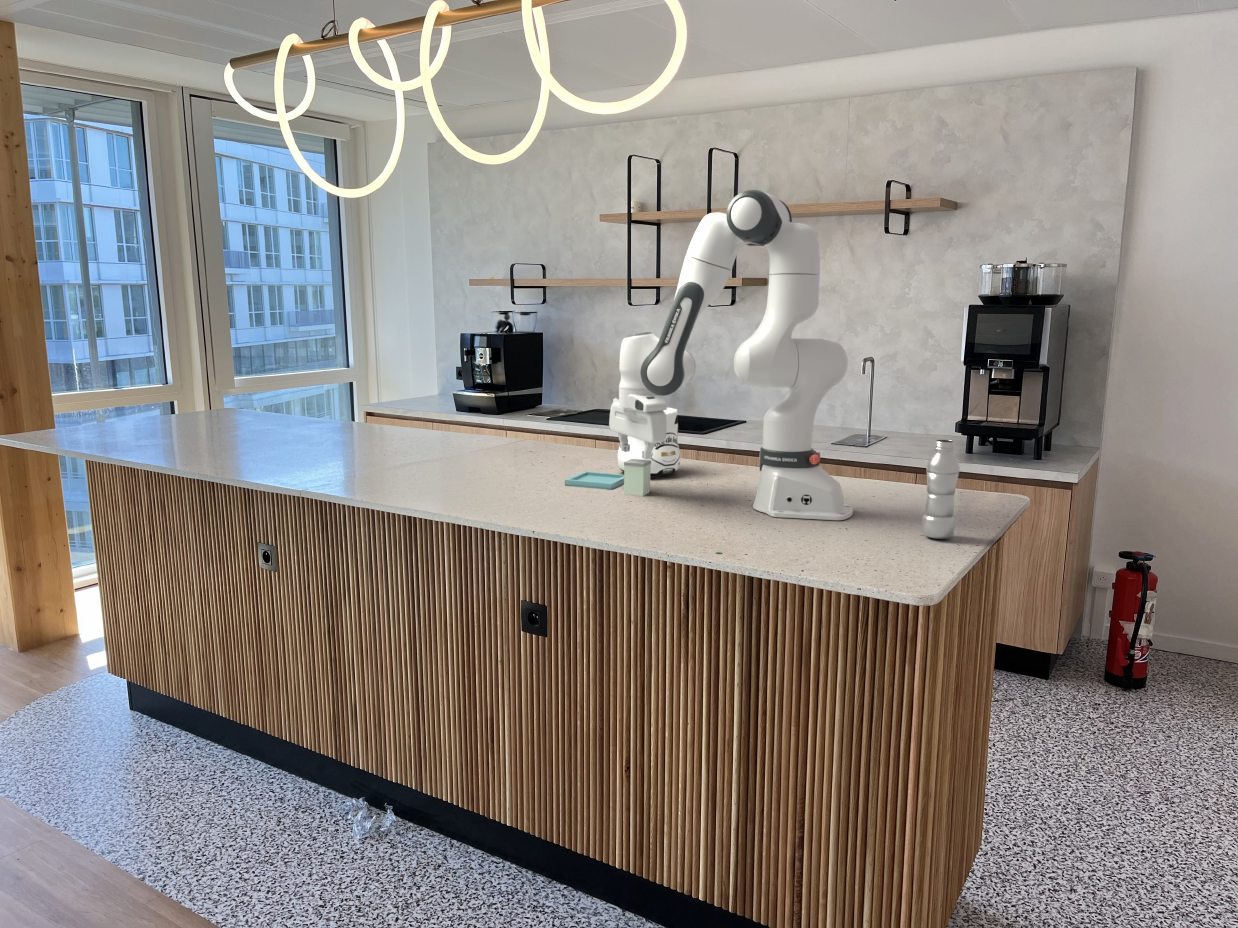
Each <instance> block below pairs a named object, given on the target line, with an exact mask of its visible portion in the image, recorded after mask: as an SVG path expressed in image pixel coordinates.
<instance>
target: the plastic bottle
mask: <svg viewBox="0 0 1238 928" xmlns="http://www.w3.org/2000/svg"><path fill="white" fill-rule="evenodd" d="M934 450H935V452H934V453H933V455H931V456H930V458H929V459H928V461H927V463H926V466H925V467H926V468H925V469H926V487H927V488H926V491H927V493H926V502H925V508H924V513H923V516H922V520H921V531H922V533H923V535H924V536H925V537H928V538H932V539H937V540H941V539H942V540H944V539H949V538H952V536H953V535H954V534H955V529H956V519H955V518H956V517H955V494H956V487H957V483H958V478H959V473H960V463H959V461H958V459H957V458H956V456H955V455H954V451H955V440H950V439H936V440H935V442H934Z"/></svg>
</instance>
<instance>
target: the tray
mask: <svg viewBox="0 0 1238 928" xmlns="http://www.w3.org/2000/svg"><path fill="white" fill-rule="evenodd" d="M621 485H624V474H620V473H609V472H607V473H606V472H599V471H598V472H597V471H583V472H581V473H578V474H575V475H573V476H571V477H569V478H565V479H564V486H568V487H569V486H571V487H580V488H581V487H582V488H583V487H584V488H591V489H592V488H593V489H601V490H602V489H603V490H613V489H615V488H617V487H620V486H621Z"/></svg>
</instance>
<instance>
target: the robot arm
mask: <svg viewBox="0 0 1238 928" xmlns="http://www.w3.org/2000/svg"><path fill="white" fill-rule="evenodd" d="M745 246H749V247H750V246H751V247H752V246H753V247H754V246H755V247H756V246H757V247H759V246H761V247H765V248H766V249H767V252H768V256H769V269H768V270H769V271H768V287H767V288H768V289H767V299H766V307H765V312H764V315H763V318H762V320H761V322H760V324H759V325H758V327H757V329H756V330H755V331H754V332H753V334H751V335H750V336H749V337H748V338H747V339H745V340H744V341H743V342H742V343H741V344H740V345H739V346H738V347H737V349H736V352H735V353H734V356H733V370H734V373H735V375H736V377H737V379H738V380H739V381H740V383H741V384H744V385H748V386H752V387H757V388H789V390H788V394H787V395H786V397H785V398H784V399H783V400H782V401H781V402H778V403H777V404H774V405H772V406H771V407H770V408H769V409H767V411H766V412H765V414H764V417H763V421H762V425H763V427H762V443H761V444H762V446H761V447H760V451H759V456H758V457H759V460H758V461H759V463H758V468H759V472H760V473H759V480H758V486H757V490H756V491H757V492H756V495H755V499H754V502H753V505H752V508H753V509H754V510H756V511H758V512H761V513H764V514H767V515H769V517H773V518H774V517H775V518H784V519H786V518H788V519H805V520H806V519H807V520H824V521H825V520H826V521H843V520H847V519H849V518H850V517H852V515H853V514H854V508H853V506H851V504H847V503H845V502H844V501H845V499H844V491H843V489H842V485H841V484H840V482H839V481H837V480H836V479H835V478H834V477H832V475H830V474H829V473H828V472H827V471H826V470H824V468H822V467H821V466H820V464H821V452H820V451H819V452H817V450H815V449H813V448H812V447H813V446H812V443H813V432H814V431H813V430H814V423H815V422H814V421H815V417H816V413H817V410H818V408H819V406H820V403H821V402H822V400H823V398H824V397H825V396H826V395H827V393H828V392H829V391H831V389H832V388H834V387H835V386H836V385H838V384H839V383H840V382H841V381H842V380H843V378H844V377H845V375H846V373H847V372H848V371H847V370H848V367H849V359H848V354H847V352H846V350H845V349H844V347H843V345H841V343H840V342H836V341H832V340H829V339H823V338H792V335H793V331H794V329H795V327H796V326H797V325H799V324H800V323H803V322H804V321H807V320H808V319H810V318H812V317H813V316H814V315H815V313H817V310H818V309H819V303H820V302H819V301H820V299H819V298H820V281H821V280H820V279H821V278H820V277H821V257H820V244H819V238H818V234H817V232H816V230H815V229H814V228H813V227H812V226H811V225H809V224H806V223H802V222H793V217H792V213H791V211H790V209H789V207H788V205H787V204H786V203H785V202H784V201H782V200H780V199H778V197H776V196H775V195H773V194H772V193H771V194H770V193H768V192H765V191H762V190H759V189H749V190H748V189H747V190H745V191H742V192H740V193H738V194H737V195H735V196H734V197H733V198H732V199H731V201H729V204H728V206H727V209H726V213H724V212H719V211H718V212H710V213H708V214H706V215H704V216H703V218H702V219H701V221H700V222H699V224H698V226H697V228H696V230H695V232H694V233H693V236H692V238H691V241H690V242H689V245H688V248H687V251H686V254H685V257H684V259H683V264H682V268H681V270H680V274H679V279H678V283H677V286H676V287H677V288H676V291H675V295H674V299H673V302H672V305H671V308H670V310H669V313H668V316H667V318H666V320H665V323H664V326H663V328H662V332H661V334H660V337H657V336H656V334H654V332H652V331H651V332H650V331H646V332H635V333H632V334H628V335H626V336H624V338H623V339H622V341H621V345H620V350H619V362H618V363H619V365H618V366H619V367H618V369H619V373H620V381H619V384H618V394H616V395H615V397H614V398H613V399H612V403H611V406H610V411H609V419H608V420H609V423H608V427H609V428H610V431H612V432H615V433H618V434H617V436H618V440H619V444H620V443H621V451H624V452H629V451H630V444H628V440H627V437H628V436H630V437H633V438H637V439H640V440H643V441H644V445H646V447H645V450H644V451H642V458H644V459H651V452H652V450H653V448H654V446H655V443H662V442H663V441H664V440H665V438H666V424H667V421H666V414H665V412H664V410H667V407H668V402H667V401H666V400H665V399H663V398H662V397H661V396H663V397H664V396H670V395H672V394H674V393H676V392H677V390H678V389H679V388H681V387H683V386H684V385H686V384H687V383H688V382H690V381H691V380H692V378H693V377H694V375H695V373H696V361H695V359H694V356H693V355H692V354H691V353H690V352H689V351H688V350H686V349H687V347H688V343H689V341H690V338H691V335H692V333H693V330H694V328H695V326H696V322H697V320H699V317H700V316H701V314H702V313H703V312H704V311H705V310H706V309H707V308H708V307H709V306H710V305H711V304H712V303H713V302H715V300H717V299H718V298H719V297H720V295H721V293H722V292H723V290H724V288H725V287H726V284H727V282H728V281H729V279H730V278H729V277H730V276H731V273H732V270H733V267H734V264H735V260H736V257H737V255H738V253H739V252H740V250H741V249H742V248H743V247H745Z"/></svg>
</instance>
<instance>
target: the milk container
mask: <svg viewBox="0 0 1238 928" xmlns="http://www.w3.org/2000/svg"><path fill="white" fill-rule="evenodd" d="M664 412H665V414H666V421H667V424H666V438H665V440H664V441H663V442H662V443H655V446H654V448H653V450H652V452H651V459H644V458H642V451H644V450H645V447H646V445H644V441H643V440H640V439H637V438H633V437H630V436H628V437H627V440H628V444H630V451H629V452H624V451H621V443H620V442H619V448H618V452H617V465H618V468H619V470H621V472H622V473H624V462H625V461H628V460H630V459H639V460H651V464H650V478H651V477H653V478H654V477H663V476H669V475H673V474H675V473H676V472H677V471H678V470H679V469H680V465H681V459H682V458H681V450H680V447H679V443H678V441H679V440H678V437H679V436H678V434H679V433H678V432H679V423H678V422H679V414H678V413H679V412H678V409H677V408H674V407H668V406H667V410H664Z"/></svg>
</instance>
